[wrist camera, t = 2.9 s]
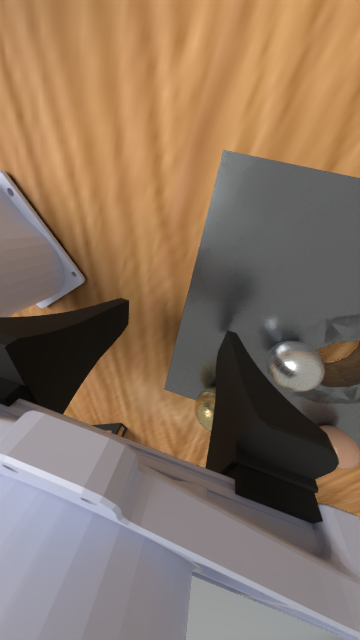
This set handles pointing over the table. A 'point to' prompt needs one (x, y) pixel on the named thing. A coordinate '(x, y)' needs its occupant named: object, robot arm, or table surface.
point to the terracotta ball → (343, 447)
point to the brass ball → (205, 407)
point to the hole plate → (277, 280)
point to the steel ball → (295, 366)
